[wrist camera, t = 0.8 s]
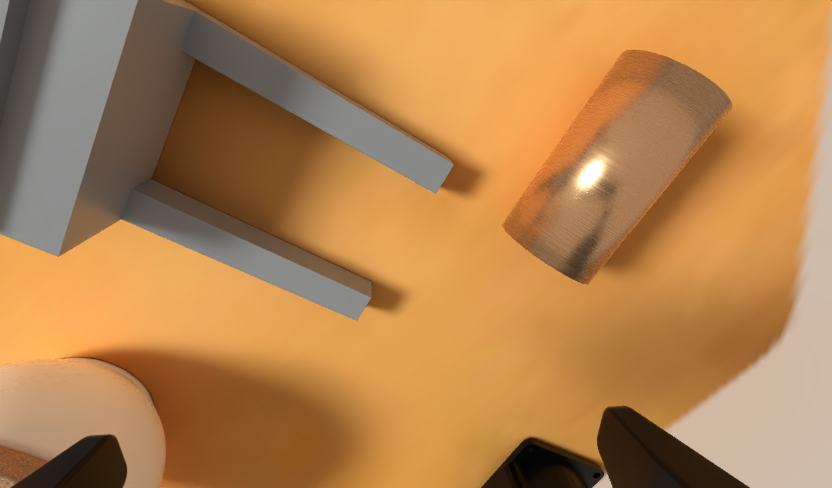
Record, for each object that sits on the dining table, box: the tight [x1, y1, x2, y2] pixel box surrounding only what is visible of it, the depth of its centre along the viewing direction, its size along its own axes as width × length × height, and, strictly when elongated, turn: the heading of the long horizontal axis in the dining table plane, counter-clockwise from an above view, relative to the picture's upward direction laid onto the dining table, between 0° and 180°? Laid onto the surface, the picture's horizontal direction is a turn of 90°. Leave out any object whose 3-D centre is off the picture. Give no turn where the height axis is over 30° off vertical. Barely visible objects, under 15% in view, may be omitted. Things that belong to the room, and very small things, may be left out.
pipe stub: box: [502, 50, 732, 284], centre depth 17 cm, size 8×4×4 cm, turn 149°
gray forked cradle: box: [0, 0, 454, 321], centre depth 15 cm, size 13×8×6 cm, turn 59°
